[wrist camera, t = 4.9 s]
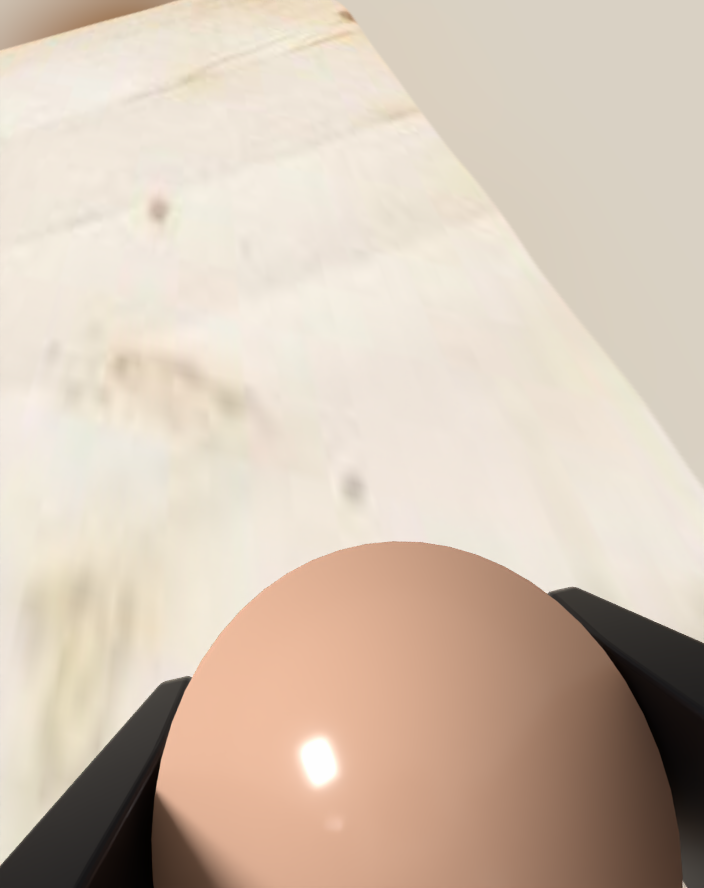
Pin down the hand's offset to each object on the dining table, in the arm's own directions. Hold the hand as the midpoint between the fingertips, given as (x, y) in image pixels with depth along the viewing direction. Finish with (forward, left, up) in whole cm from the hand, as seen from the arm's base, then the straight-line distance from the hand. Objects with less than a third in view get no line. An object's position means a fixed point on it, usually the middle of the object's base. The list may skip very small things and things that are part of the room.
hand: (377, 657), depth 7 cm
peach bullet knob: (-1, +1, -7) cm, 7 cm away
